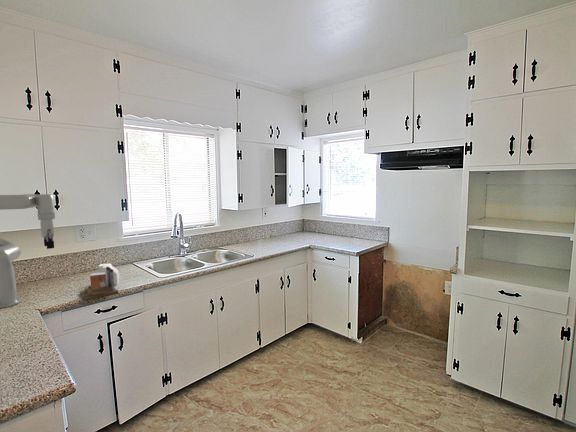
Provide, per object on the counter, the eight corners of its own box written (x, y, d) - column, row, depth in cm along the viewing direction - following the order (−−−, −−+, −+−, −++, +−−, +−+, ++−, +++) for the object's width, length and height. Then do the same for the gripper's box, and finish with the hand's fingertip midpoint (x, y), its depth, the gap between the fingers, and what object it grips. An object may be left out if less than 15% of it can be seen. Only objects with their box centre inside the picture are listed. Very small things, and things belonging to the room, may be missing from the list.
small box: (91, 293, 187) (89, 275, 186) (91, 290, 192) (90, 273, 191) (106, 291, 191) (105, 274, 189) (107, 288, 196) (106, 271, 194)
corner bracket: (101, 281, 214) (100, 264, 212) (120, 280, 217) (119, 262, 216) (97, 286, 203) (96, 268, 202) (117, 284, 207) (116, 266, 206)
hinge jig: (79, 293, 191) (77, 270, 189) (110, 287, 202) (109, 265, 201) (85, 300, 180) (83, 275, 178) (118, 293, 192) (116, 269, 190)
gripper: (36, 215, 180) (38, 245, 182) (40, 218, 168) (43, 250, 170) (52, 214, 185) (55, 243, 187) (57, 217, 173) (60, 248, 175)
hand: (49, 247), depth 178 cm, fingers open, 9 cm apart
